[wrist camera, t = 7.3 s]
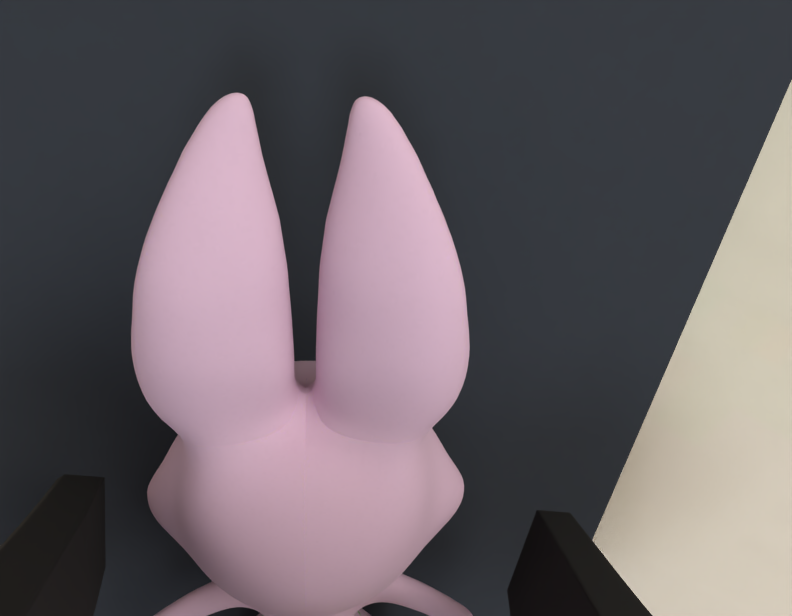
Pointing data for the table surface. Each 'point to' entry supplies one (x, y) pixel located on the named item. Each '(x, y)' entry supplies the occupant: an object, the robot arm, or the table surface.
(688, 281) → the desk mat
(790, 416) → the table surface
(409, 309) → the rabbit figure
